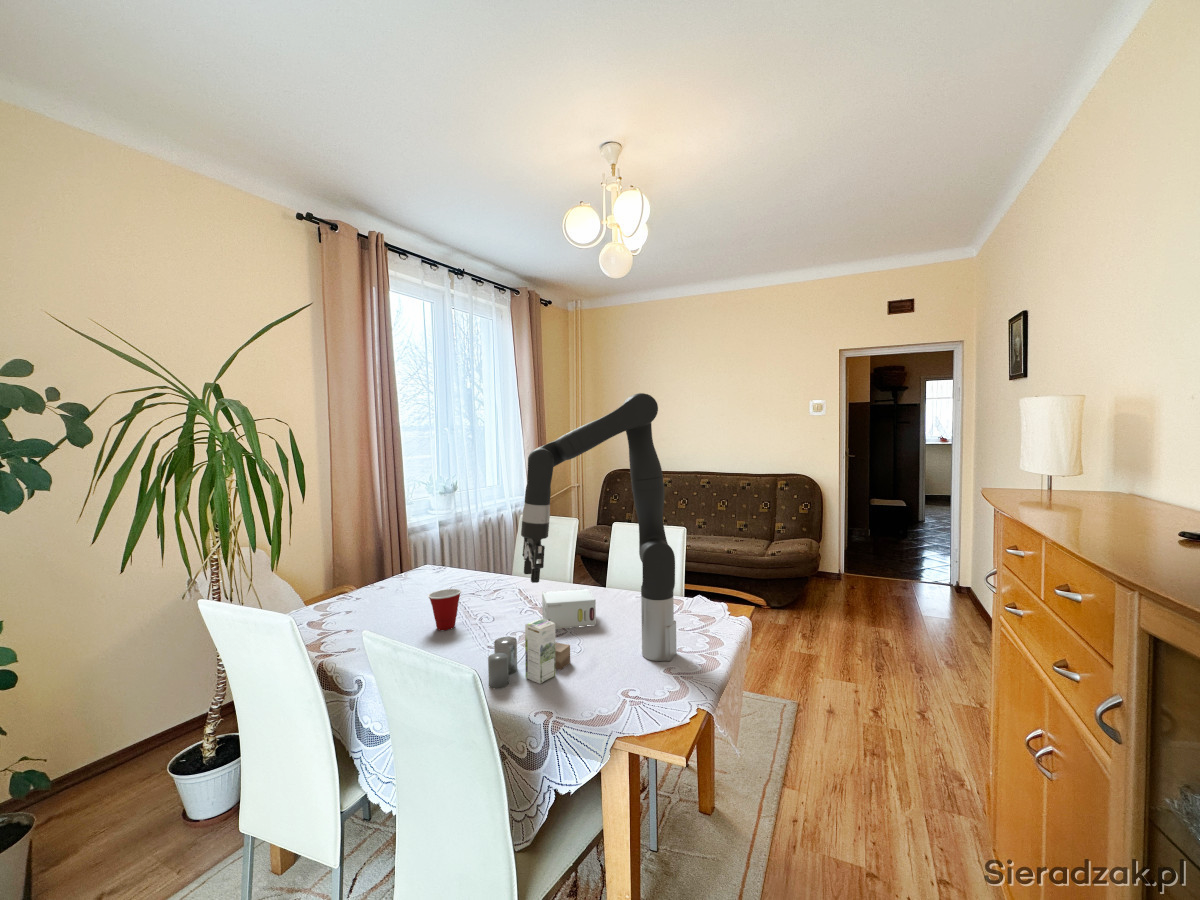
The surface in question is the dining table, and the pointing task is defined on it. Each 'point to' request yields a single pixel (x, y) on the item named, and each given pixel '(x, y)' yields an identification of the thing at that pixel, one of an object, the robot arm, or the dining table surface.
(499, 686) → the charcoal plastic canister
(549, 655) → the syrup box
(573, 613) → the supplement box
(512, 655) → the dark metal tin
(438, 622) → the plastic cup
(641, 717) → the dining table surface
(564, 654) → the walnut block
